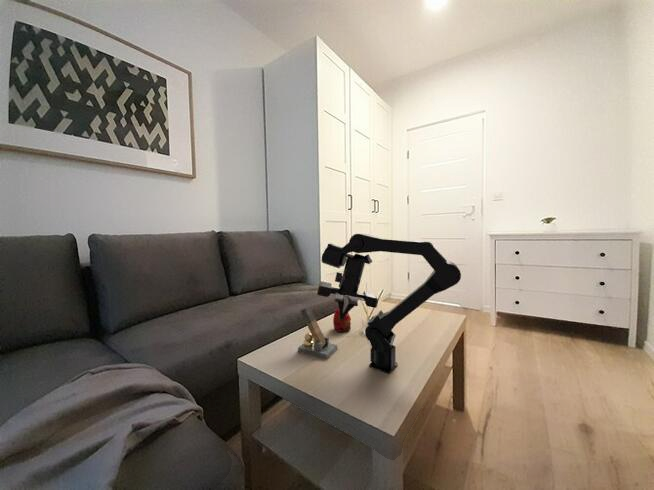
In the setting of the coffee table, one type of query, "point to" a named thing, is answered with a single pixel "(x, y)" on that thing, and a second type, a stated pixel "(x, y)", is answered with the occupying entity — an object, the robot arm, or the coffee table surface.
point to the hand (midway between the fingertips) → (340, 318)
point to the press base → (317, 347)
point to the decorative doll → (341, 322)
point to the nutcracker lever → (313, 325)
